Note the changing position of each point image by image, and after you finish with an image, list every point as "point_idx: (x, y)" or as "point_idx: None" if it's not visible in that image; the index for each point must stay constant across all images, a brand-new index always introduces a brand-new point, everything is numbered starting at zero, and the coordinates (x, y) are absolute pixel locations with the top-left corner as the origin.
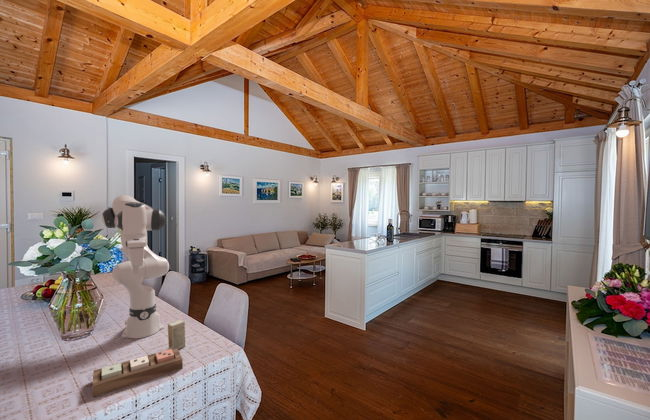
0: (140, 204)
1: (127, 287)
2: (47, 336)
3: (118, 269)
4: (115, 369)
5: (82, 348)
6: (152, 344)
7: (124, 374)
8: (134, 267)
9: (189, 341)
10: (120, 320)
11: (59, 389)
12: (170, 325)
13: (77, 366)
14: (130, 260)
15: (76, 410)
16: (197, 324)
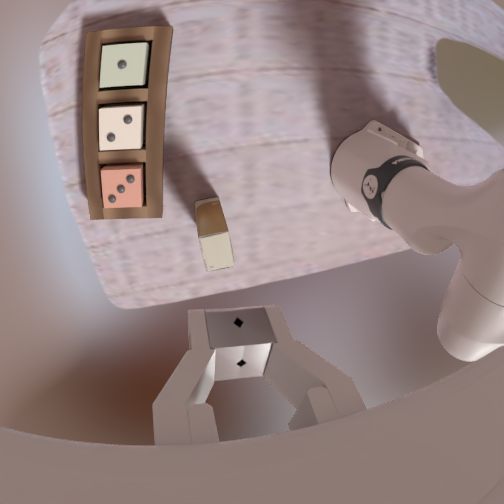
0: None
1: (465, 190)
2: (471, 32)
3: None
4: (112, 73)
5: (379, 42)
6: (275, 168)
7: (93, 93)
8: (166, 392)
9: None
10: (454, 147)
11: None
12: (208, 235)
13: (285, 9)
14: (249, 485)
15: (69, 16)
16: (304, 273)
